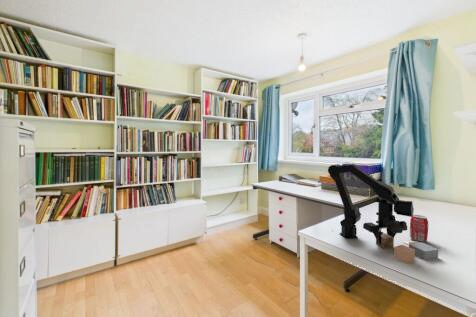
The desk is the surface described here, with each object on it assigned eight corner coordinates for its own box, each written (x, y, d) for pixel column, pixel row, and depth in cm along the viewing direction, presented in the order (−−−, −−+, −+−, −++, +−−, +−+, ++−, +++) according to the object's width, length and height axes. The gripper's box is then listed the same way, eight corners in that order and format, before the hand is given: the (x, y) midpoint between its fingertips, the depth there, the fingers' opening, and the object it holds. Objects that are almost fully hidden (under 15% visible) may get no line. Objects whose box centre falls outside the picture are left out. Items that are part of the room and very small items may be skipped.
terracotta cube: (406, 263, 89) (407, 251, 89) (394, 257, 94) (394, 246, 94) (414, 261, 91) (414, 249, 91) (401, 255, 96) (402, 244, 95)
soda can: (418, 237, 113) (420, 214, 113) (431, 242, 106) (432, 218, 106) (405, 236, 113) (407, 214, 113) (417, 242, 106) (418, 218, 106)
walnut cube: (383, 248, 102) (384, 238, 101) (375, 243, 107) (376, 234, 106) (393, 248, 102) (393, 237, 102) (385, 243, 107) (385, 233, 107)
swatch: (416, 249, 100) (416, 248, 100) (403, 242, 107) (403, 241, 107) (430, 248, 101) (430, 247, 101) (416, 241, 108) (416, 240, 108)
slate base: (424, 260, 92) (424, 251, 91) (408, 252, 98) (409, 244, 98) (438, 258, 93) (438, 249, 93) (421, 250, 100) (421, 242, 99)
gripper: (380, 218, 94) (379, 253, 95) (418, 216, 96) (417, 250, 97) (362, 211, 105) (362, 242, 106) (397, 209, 107) (396, 239, 108)
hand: (384, 243), depth 104 cm, fingers closed on walnut cube, 5 cm apart
